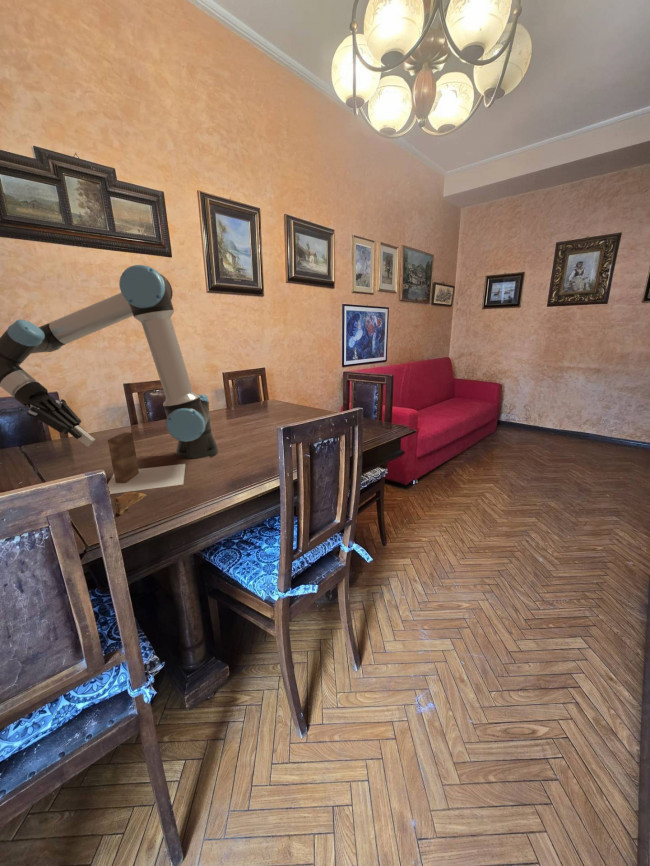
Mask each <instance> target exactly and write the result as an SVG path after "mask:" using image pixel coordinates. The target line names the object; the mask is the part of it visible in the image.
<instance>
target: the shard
mask: <svg viewBox="0 0 650 866" xmlns="http://www.w3.org/2000/svg"><path fill="white" fill-rule="evenodd" d="M145 497H147V494H145V493H142V492H137V491H129V492H124V493H123V494H122V495H119V496H117V497H115V498H114V503H115V506H116V509H117V514H119V515H120V516H122V515H123V514H125V513H126V512H127V511H128V510H129V509H128V508H130V507H131V506H133V505H135V504H136V503H138V502H139V501H141V500H142V499H144V498H145Z"/></svg>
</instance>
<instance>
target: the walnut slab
mask: <svg viewBox="0 0 650 866" xmlns="http://www.w3.org/2000/svg"><path fill="white" fill-rule="evenodd" d="M107 445H108V450H109V455H110V459H111V465H112V470H113V474H114V476H115V482H116V483H126V482H128V481H129V480H130V479H132V478H133V477H134V476H136V475H137V474H138V473H139V470H138V469H139V465H138V459H137V452H136V446H135V441H134V435H133V432H127V431H126V432H125V431H124V432H123V431H122V432H120V433H119V434H118V435H115V436H113V437H111V438H108V439H107Z"/></svg>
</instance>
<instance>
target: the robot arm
mask: <svg viewBox="0 0 650 866" xmlns="http://www.w3.org/2000/svg"><path fill="white" fill-rule="evenodd" d="M118 284H119V290H120V293H116V294H115V295H112V296H110V297H107V298H105V299H102V300H100V301H98V302H95V303H93V304H91V305H88V306H86V307H84V308H81V309H78V310H76V311H74V312H72V313H70V314H67V315H65V316H63V317H60V318H57V319H55V320H52V321H51V322H49V323H45V324H43V325H41V326H37V324H34V323H32V322H31V321H27V320H25V319H22V318H21V319H17V320H15V321H14V322H12V324H10V325H9V326H8V327H7V329H6V330H5V332H4V333H3V334H2V335H0V388H1V389H3V391H5V392H6V393H7V394H9V396H11V397H14V400H16V401H17V402H19V403H20V404H21V405H22V406H23V407H27V408H29V409H28V411H27V412H26V414H27V416H30V417H33V418H35V419H37V420H38V421H40V422H41V423H44V425H45V424H46V425H47V426H49V427H50V428H52V429H53V430H55V431H57V432H58V433H61V434H64V435H68V434H70V435H71V436H72V437H74V438H75V439H77V440H78V441H79V442H81V443H82V444H83V445H84V446H85V447H87V448H88V447H90V446H92V444H93V443H94V442H95V440H96V439H95V438H94V437H93V436H92V435H90V434H89V433H88V431H86V430H85V429H84V428H83V427H82V426H80V424H81V423H82V420H81V419H80V417H79V416H78V415H77V414H76V413H75V412H74V411H73V410H72V409H71V407H70V406H68V404H67V401H66V399H61V400H57V399H55V397H53V396H52V395H49V392H48V389H47V388H46V387H45V386H44V385H42V384H41V383H40V382H39V381H37V380H36V379H35V377H33V376H32V375H30V374H29V373H28V372H27V371H25V370H24V369H23V368H22V367H21V366H20V365H21V364H23V363H24V361H26V359H27V358H28V357H29V356H30V355H32V354H38V353H52V352H55V351H59V349H61V348H62V347H63V346H66V345H67V344H69V343H72V342H74V341H77V340H79V339H82V338H84V337H86V336H88V335H91V334H93V333H96V332H98V331H100V330H103V329H105V328H108V327H111V326H112V325H115V324H118V323H119V322H122V321H124V320H126V319H129V318H132V317H133V318H134V319H136V320H137V321H138V322H140V323H141V326H142V329H143V331H144V335H145V337H146V338H145V339H146V341H147V343H148V347H149V350H150V353H151V357H152V359H153V362H154V366H155V369H156V371H157V374H158V378H159V380H160V384H161V387H162V389H163V393H164V397H165V400H164V401H163V403H162V406H163V409H164V412H165V415H166V422H165V423H166V425H165V426H166V430H167V432H168V433H169V435H170V436H171V437H172V438H174V439H175V440H177V441H178V442H177V444H176V451H175V453H176V457H179V458H181V459H187V460H194V459H196V460H197V459H203V458H207V457H210V458H212V457H215V455H217V454H218V453H219V447H218V444H217V441H216V440H215V437H214V434H213V433H212V424H211V422H212V421H211V416H210V415H211V414H210V401H209V398H208V395H206V394H197V393H195V392H194V390H193V388H192V384H191V380H190V377H189V373H188V371H187V366H186V364H185V360H184V357H183V355H182V354H183V353H182V350H181V347H180V344H179V340H178V337H177V334H176V330H175V327H174V324H173V320H172V316H173V315H174V312H175V310H174V306H173V302H172V299H173V296H174V295H173V292H174V291H173V288H172V285H171V283H170V281H169V280H168V278H166V276H164V275H163V274H162V273H160V272H159V271H158V270H156V269H155V268H153V267H151V266H149V265H143V264H135V265H131V266H129V267H127V268H126V269H125V270H123V272H122V273H121V275H120V277H119V283H118Z"/></svg>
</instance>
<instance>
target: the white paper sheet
mask: <svg viewBox="0 0 650 866" xmlns="http://www.w3.org/2000/svg"><path fill="white" fill-rule="evenodd" d="M138 470H139V473H138V474H137V475H136V476H134V477H133V478H132V479H130V480H129V481H128V482H126V483H116V482H115V476H114V473H113V474H112V476H111V477H110V480H109V481H108V483H107V484H108V487H109V491H110V494H109V495H112V494H119V493H120V494H121V493H126V492H137V491H143V490H144V491H145V490H151V489H158V488H159V489H160V488H167V487H174V486H181V488H184V487H183V486H184V481H185V471H186V463H180V464H172V465H164V466H154V467H143V468H138Z"/></svg>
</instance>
